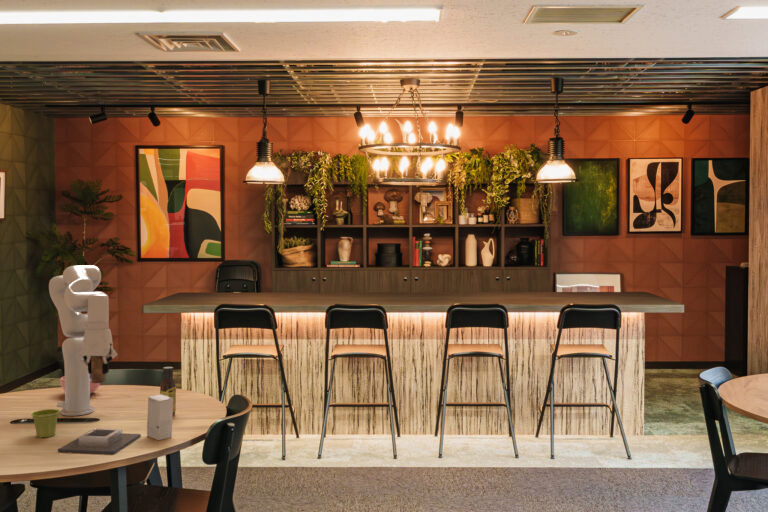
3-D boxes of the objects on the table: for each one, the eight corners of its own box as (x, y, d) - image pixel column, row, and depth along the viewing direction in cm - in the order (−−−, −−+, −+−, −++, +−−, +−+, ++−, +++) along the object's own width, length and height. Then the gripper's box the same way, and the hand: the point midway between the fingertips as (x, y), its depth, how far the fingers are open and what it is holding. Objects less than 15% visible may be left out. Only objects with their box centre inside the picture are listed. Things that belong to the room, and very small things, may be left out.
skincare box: (146, 436, 251) (146, 396, 251) (161, 432, 256) (161, 393, 256) (159, 441, 246) (158, 400, 246) (173, 437, 251) (173, 397, 250)
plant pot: (41, 441, 245) (40, 417, 244) (26, 436, 250) (25, 413, 249) (65, 434, 253) (65, 411, 252) (50, 430, 258) (50, 407, 257)
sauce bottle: (170, 418, 276) (170, 369, 275) (156, 417, 277) (156, 368, 276) (178, 414, 282) (178, 366, 282) (165, 413, 284) (164, 365, 283)
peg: (88, 382, 258) (88, 356, 258) (95, 380, 263) (95, 354, 263) (101, 383, 258) (101, 357, 258) (108, 380, 263) (107, 354, 263)
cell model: (97, 388, 327) (97, 365, 326) (103, 397, 310) (103, 372, 309) (58, 392, 318) (58, 368, 318) (63, 401, 301) (62, 376, 301)
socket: (58, 452, 233) (57, 440, 233) (88, 434, 253) (88, 424, 253) (113, 454, 231) (113, 442, 231) (140, 436, 251) (140, 426, 251)
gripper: (71, 326, 257) (71, 374, 258) (114, 327, 255) (115, 375, 256) (82, 324, 265) (82, 370, 265) (124, 325, 263) (124, 371, 264)
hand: (98, 372), depth 261 cm, fingers closed on peg, 5 cm apart
